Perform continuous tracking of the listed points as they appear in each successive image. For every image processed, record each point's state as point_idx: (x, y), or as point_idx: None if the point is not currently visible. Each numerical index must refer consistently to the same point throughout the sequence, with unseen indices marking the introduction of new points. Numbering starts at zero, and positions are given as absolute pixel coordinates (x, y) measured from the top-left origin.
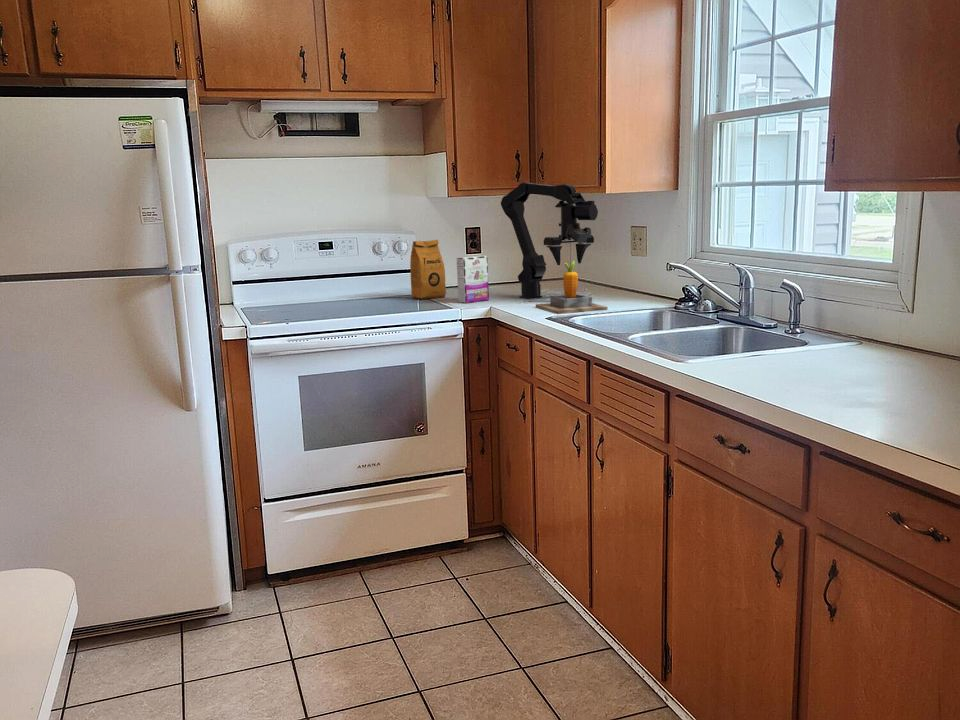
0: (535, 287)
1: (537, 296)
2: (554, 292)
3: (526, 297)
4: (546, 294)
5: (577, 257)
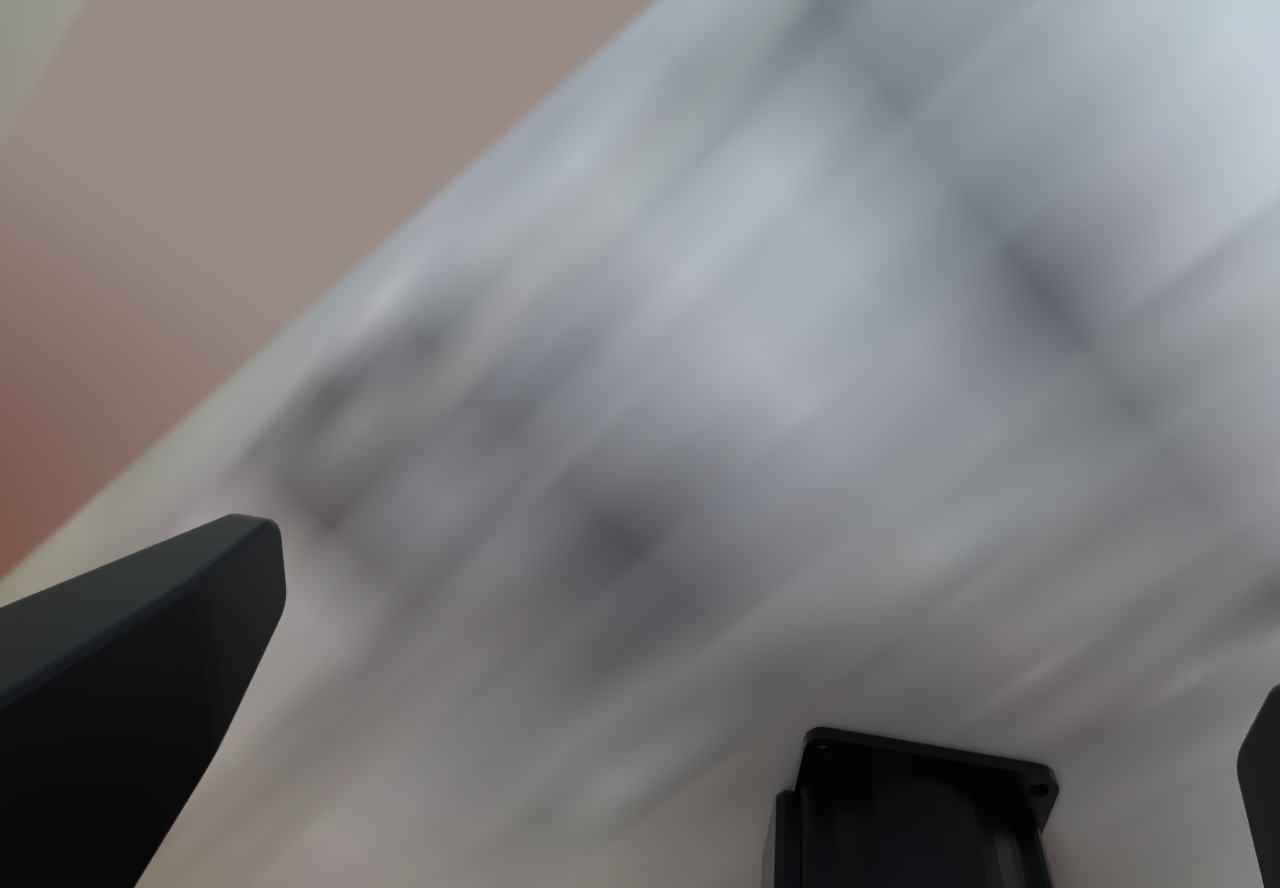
0: (934, 877)
1: (900, 751)
2: (373, 873)
3: (1049, 808)
4: (558, 844)
5: (168, 802)
